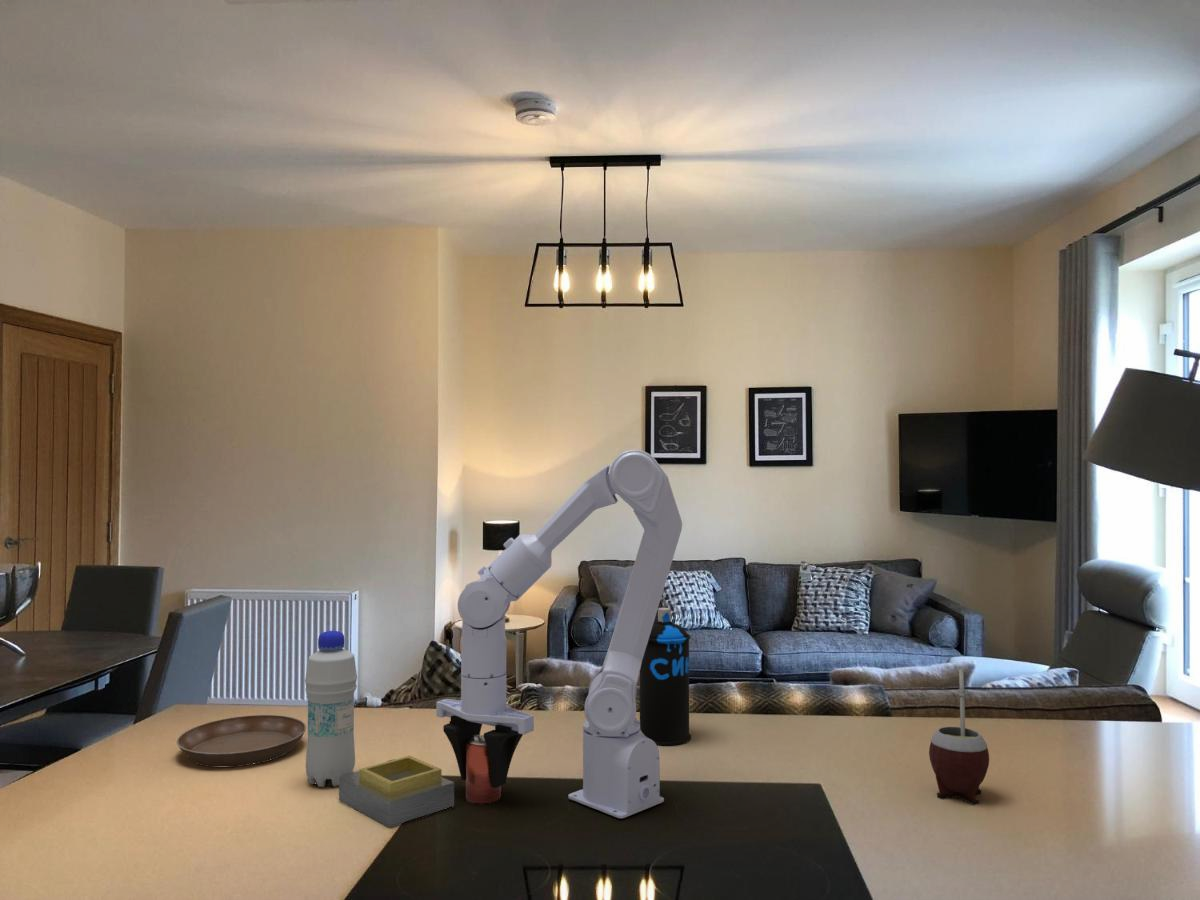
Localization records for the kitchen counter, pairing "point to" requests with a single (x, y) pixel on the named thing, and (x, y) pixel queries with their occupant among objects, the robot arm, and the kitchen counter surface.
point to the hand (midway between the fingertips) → (483, 781)
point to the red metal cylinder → (479, 772)
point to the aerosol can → (665, 683)
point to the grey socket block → (397, 790)
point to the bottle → (330, 710)
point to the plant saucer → (241, 740)
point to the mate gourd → (959, 757)
